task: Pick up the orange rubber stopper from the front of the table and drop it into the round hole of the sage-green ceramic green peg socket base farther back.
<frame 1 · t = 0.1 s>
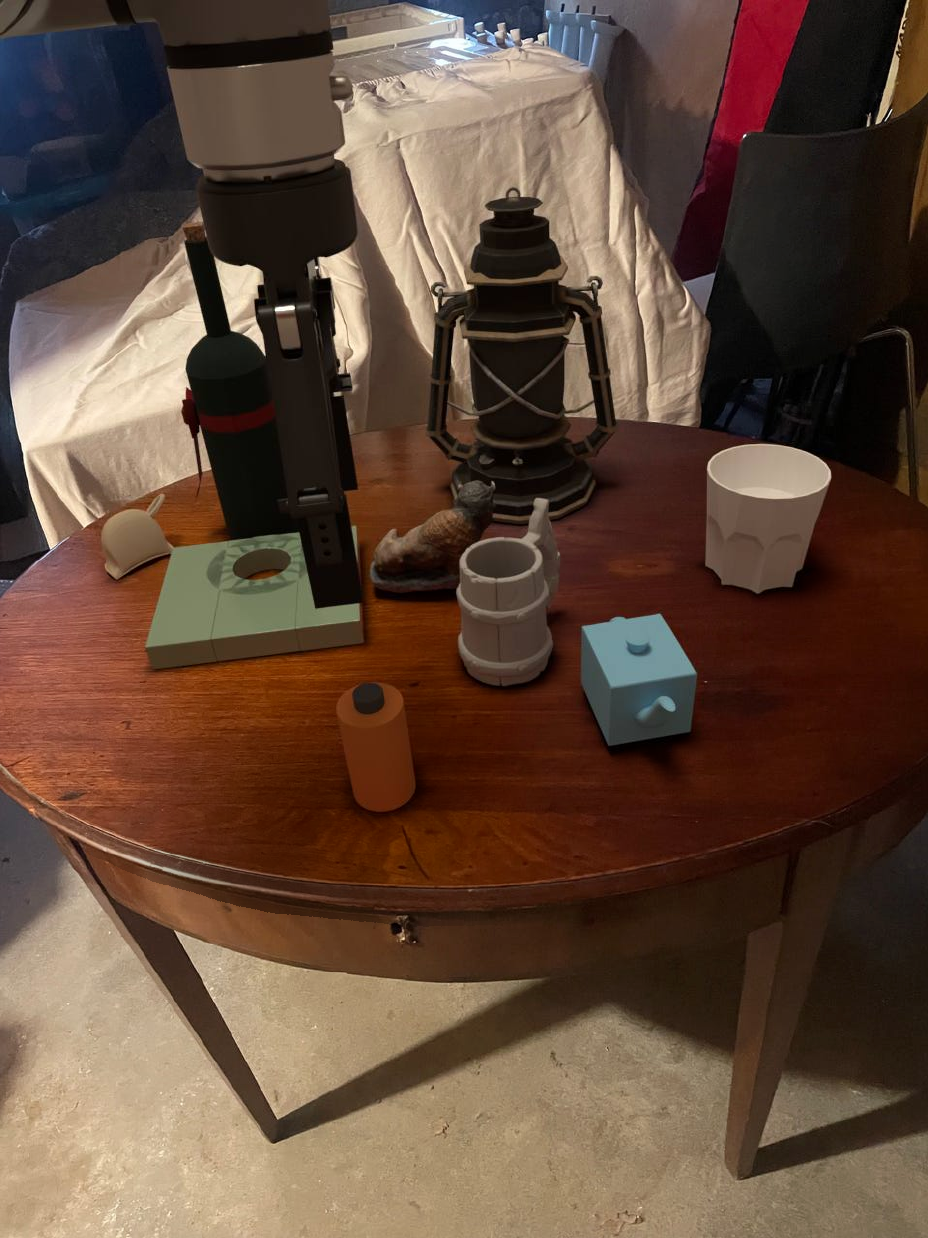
hand: (338, 540, 55), 18 cm above the table, tool pointing down, fingers open, 13 cm apart
green peg socket base: (265, 603, 81), on the table
wine bottle: (254, 531, 92), on the table
mug: (519, 647, 74), on the table
cup: (753, 569, 81), on the table
teapot: (636, 725, 65), on the table
stopper: (384, 788, 62), on the table
lantern: (522, 490, 96), on the table
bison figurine: (436, 583, 82), on the table
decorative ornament: (144, 559, 89), on the table
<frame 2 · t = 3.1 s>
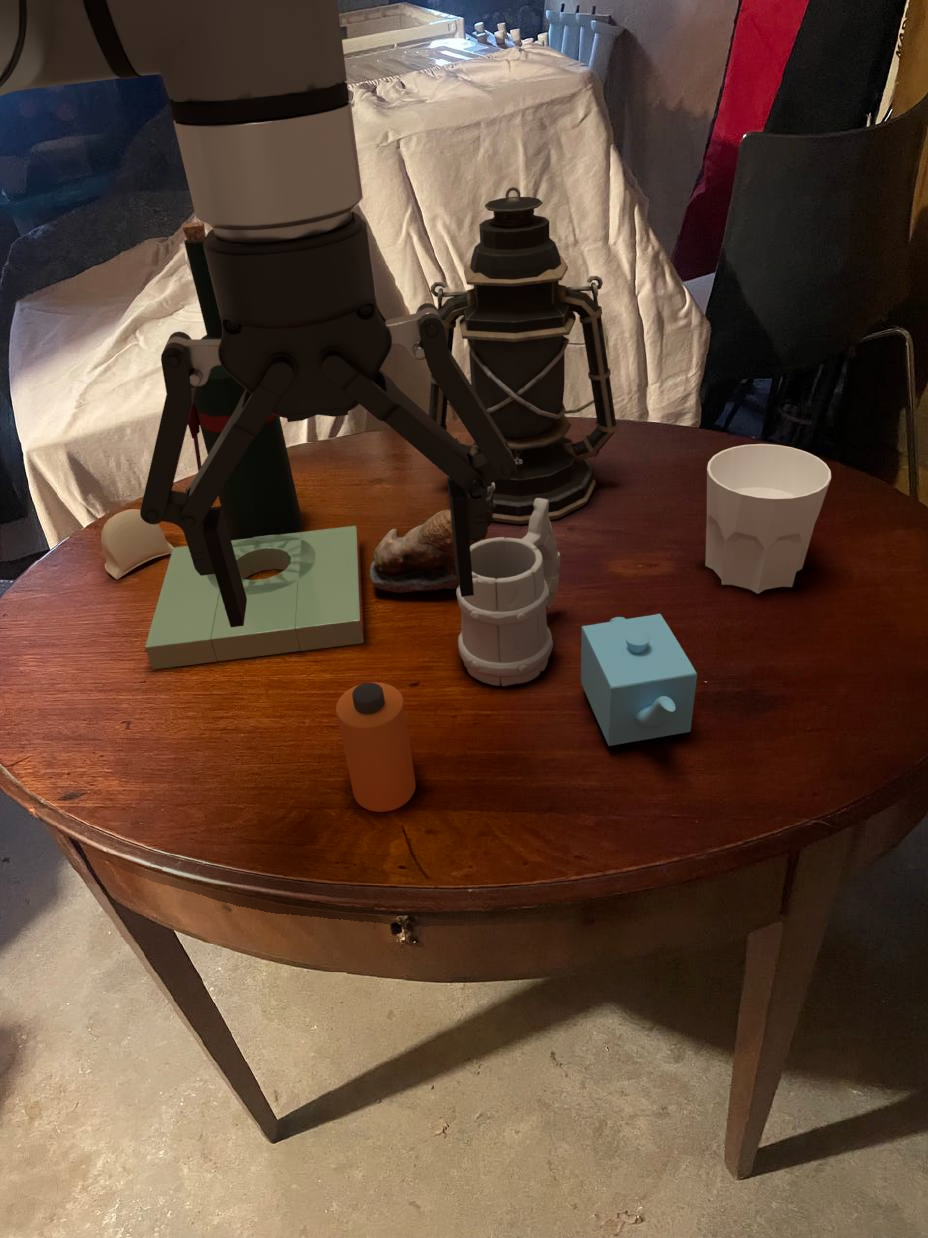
hand: (352, 598, 53), 16 cm above the table, tool pointing down, fingers open, 13 cm apart
nothing on the table moved.
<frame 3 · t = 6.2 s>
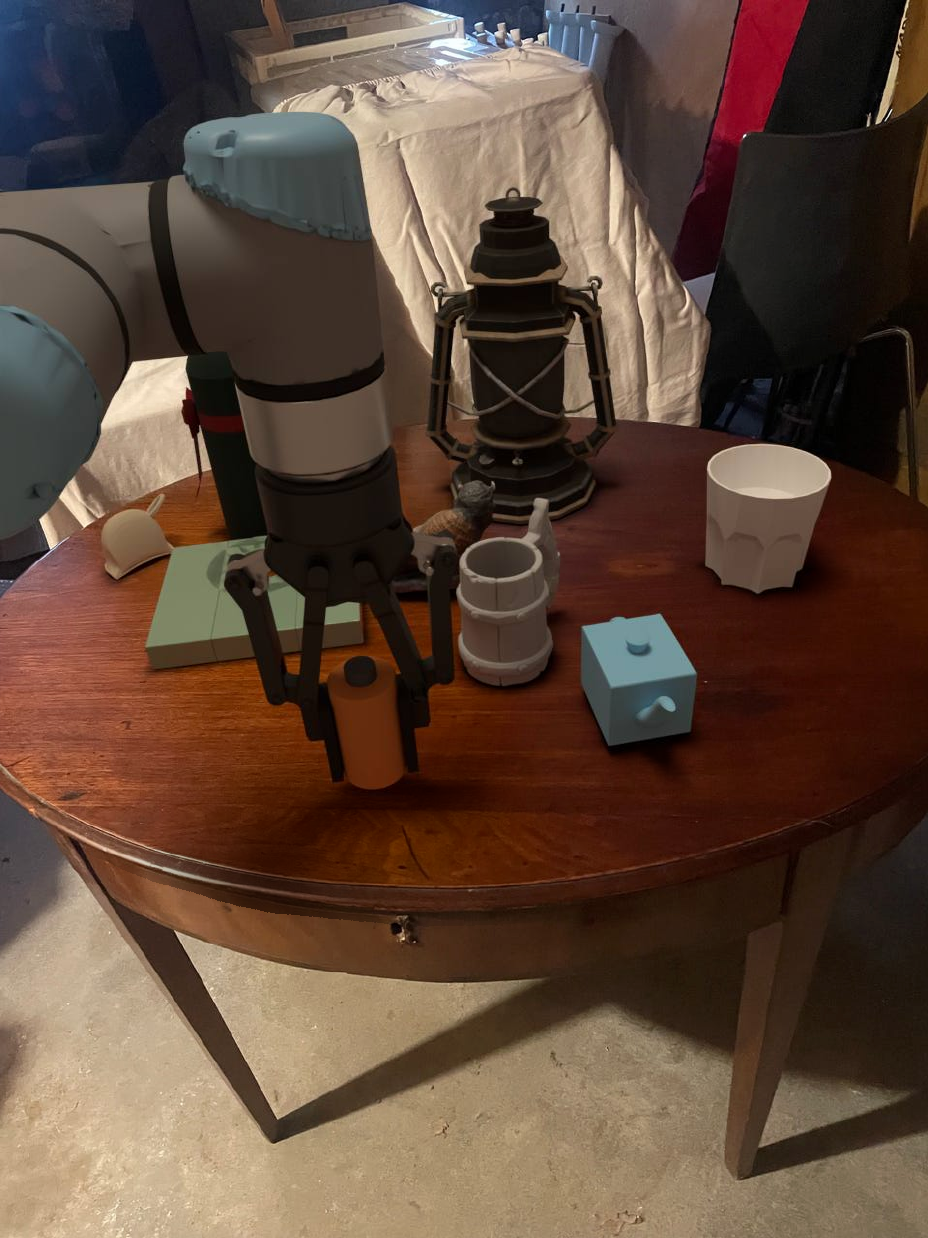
hand: (375, 762, 60), 3 cm above the table, tool pointing down, fingers closed on stopper, 4 cm apart
stopper: (375, 765, 60), point 2 cm above the table, touching gripper
everything else where it was.
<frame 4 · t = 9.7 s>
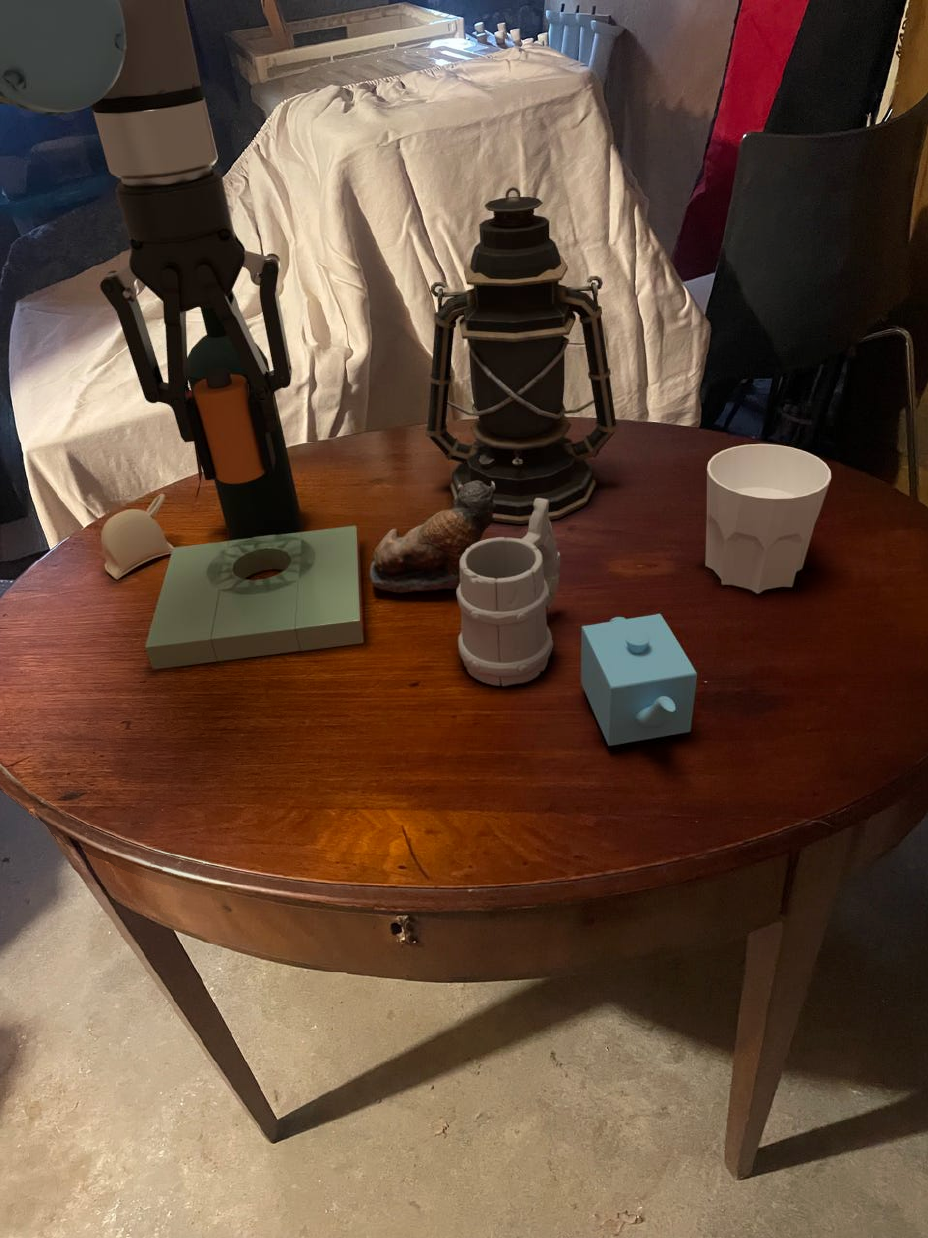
hand: (241, 468, 76), 12 cm above the table, tool pointing down, fingers closed on stopper, 4 cm apart
stopper: (241, 471, 76), point 12 cm above the table, touching gripper
everything else where it was.
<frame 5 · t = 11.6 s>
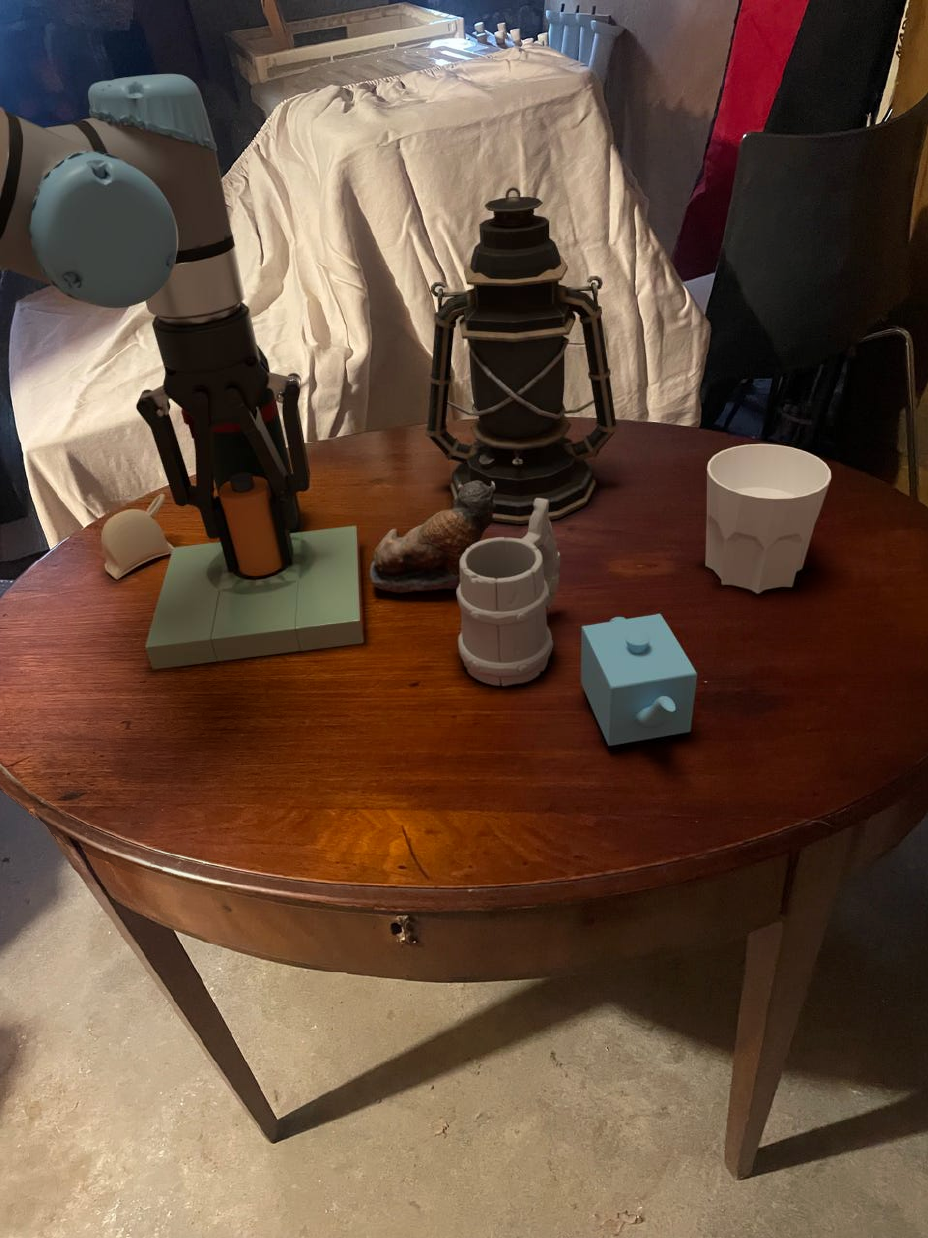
hand: (261, 560, 82), 3 cm above the table, tool pointing down, fingers closed on stopper, 4 cm apart
stopper: (262, 563, 82), point 2 cm above the table, touching gripper
everything else where it was.
when the fingers open (3 cm above the table, at t = 13.2 s): stopper drops 3 cm, resting in green peg socket base.
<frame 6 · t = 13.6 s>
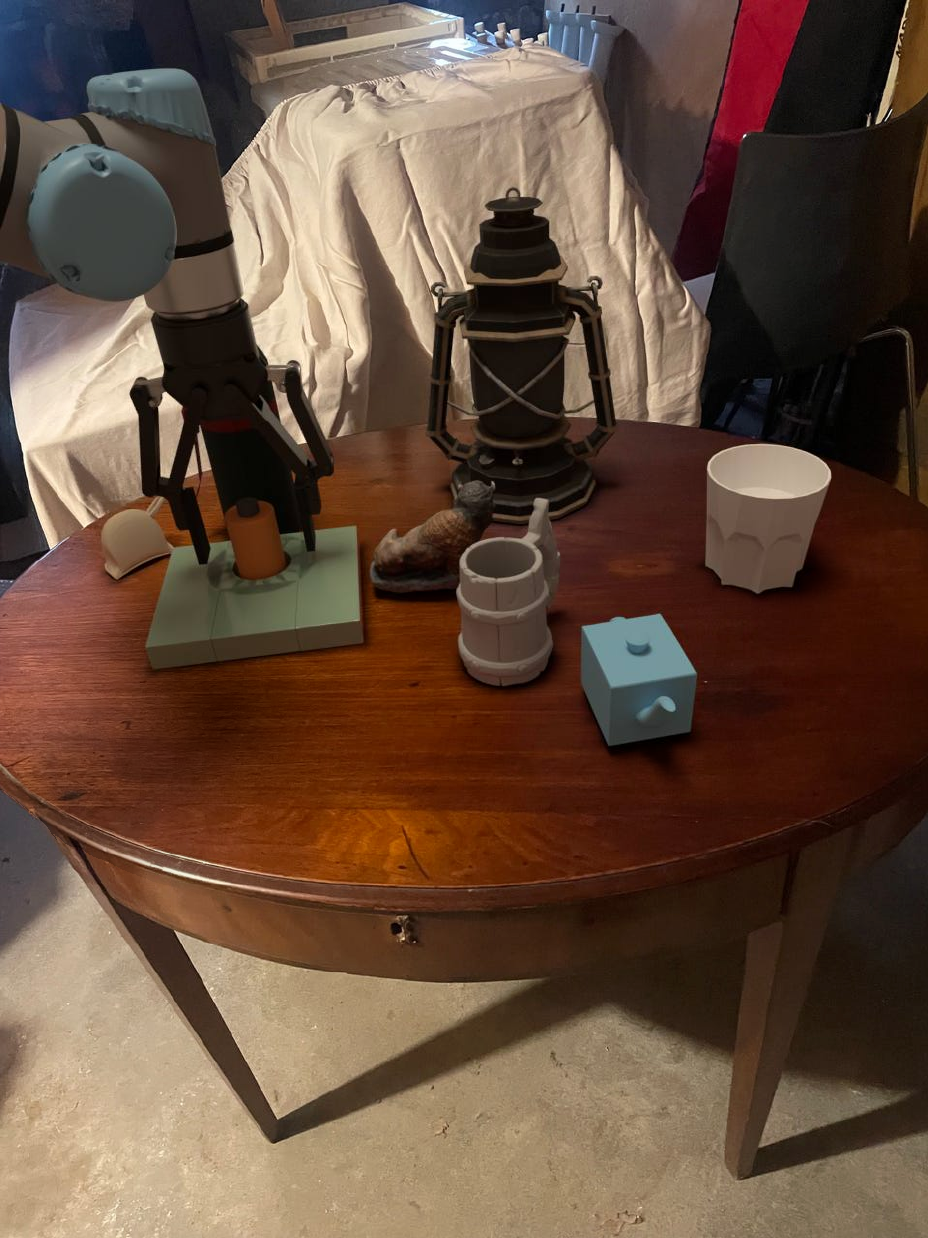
hand: (258, 550, 81), 4 cm above the table, tool pointing down, fingers open, 9 cm apart
stopper: (267, 585, 84), resting in green peg socket base
everything else where it was.
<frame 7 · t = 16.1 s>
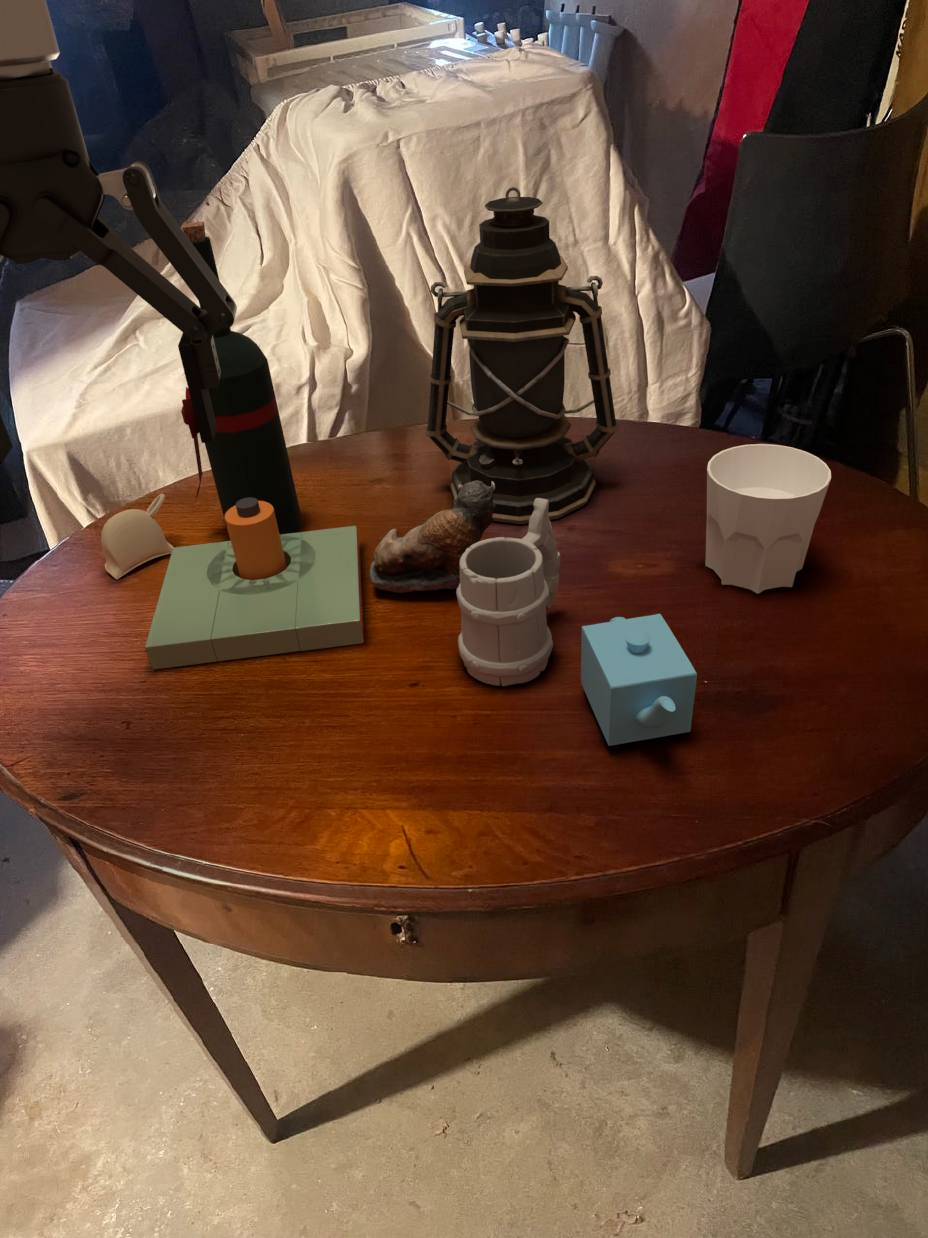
hand: (106, 445, 59), 22 cm above the table, tool pointing down, fingers open, 13 cm apart
nothing on the table moved.
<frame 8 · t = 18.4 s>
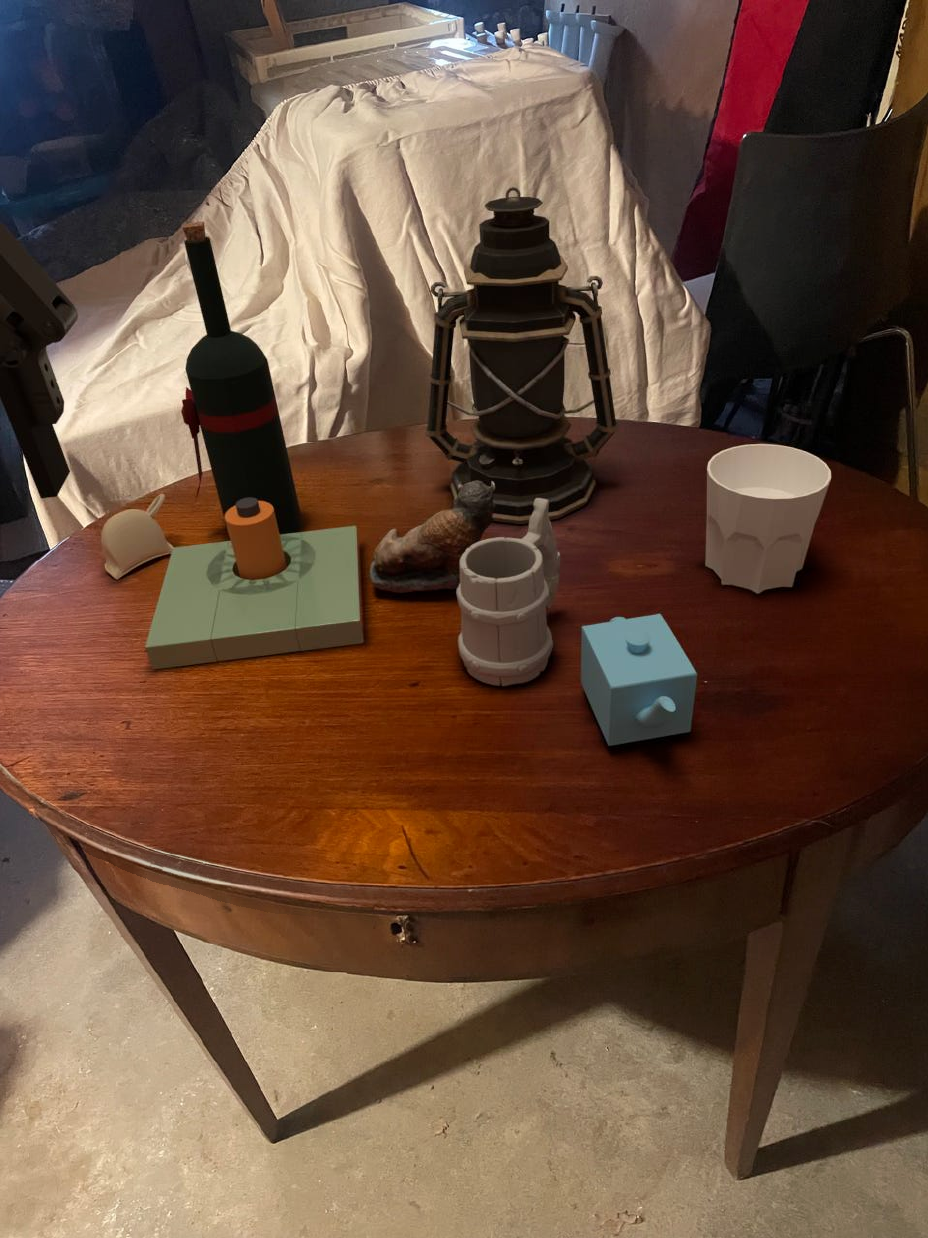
nothing on the table moved.
at the end: stopper 0.0 cm from the target spot in the green peg socket base, point 0.0 cm above the green peg socket base's base; stopper tilted 0°; the gripper is holding nothing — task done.
